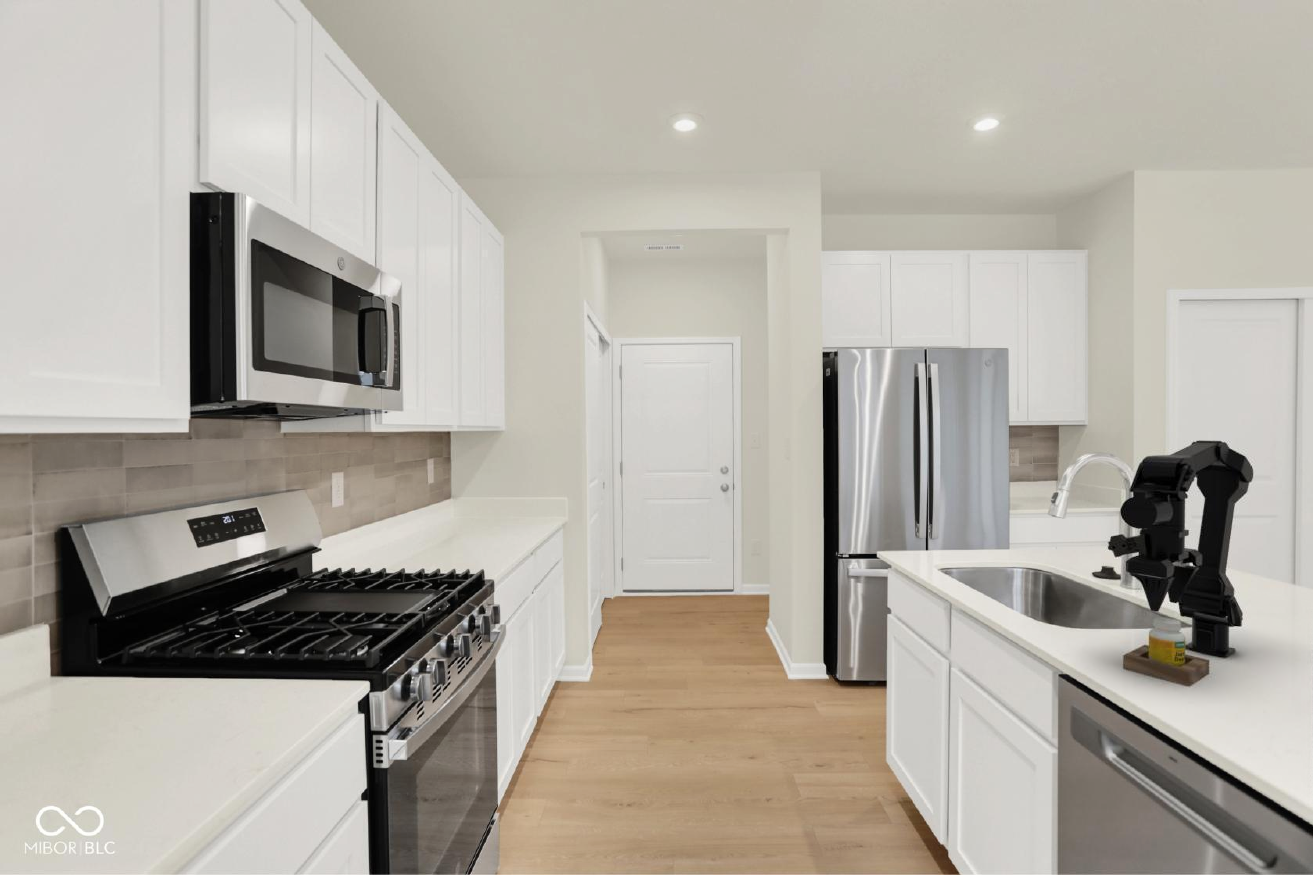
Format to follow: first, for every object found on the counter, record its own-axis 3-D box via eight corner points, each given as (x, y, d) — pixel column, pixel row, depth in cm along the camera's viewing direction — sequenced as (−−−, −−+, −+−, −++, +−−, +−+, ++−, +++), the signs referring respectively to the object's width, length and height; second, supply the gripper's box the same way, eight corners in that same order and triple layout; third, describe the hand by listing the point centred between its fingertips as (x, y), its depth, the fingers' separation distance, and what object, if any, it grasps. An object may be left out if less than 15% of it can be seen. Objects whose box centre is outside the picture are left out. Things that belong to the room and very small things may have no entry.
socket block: (1144, 657, 126) (1144, 644, 126) (1209, 673, 118) (1209, 659, 118) (1123, 668, 121) (1123, 655, 121) (1189, 686, 112) (1189, 672, 112)
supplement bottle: (1155, 663, 123) (1155, 614, 123) (1189, 672, 118) (1190, 621, 118) (1143, 669, 120) (1144, 619, 120) (1178, 679, 116) (1179, 626, 115)
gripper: (1134, 514, 131) (1133, 589, 131) (1094, 523, 121) (1093, 605, 121) (1203, 521, 122) (1202, 602, 122) (1166, 531, 111) (1165, 620, 112)
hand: (1164, 606), depth 119 cm, fingers open, 9 cm apart
